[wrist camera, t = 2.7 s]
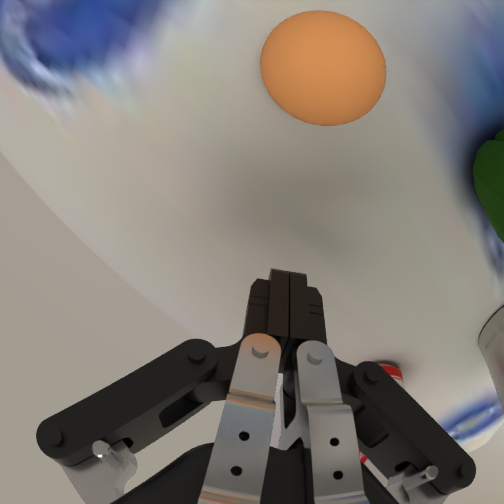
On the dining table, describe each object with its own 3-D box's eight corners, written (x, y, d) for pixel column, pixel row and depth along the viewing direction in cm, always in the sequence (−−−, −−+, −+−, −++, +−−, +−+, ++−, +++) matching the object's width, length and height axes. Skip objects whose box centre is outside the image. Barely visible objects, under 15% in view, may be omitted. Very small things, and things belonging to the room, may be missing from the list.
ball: (374, 38, 12) (415, 23, 7) (356, 127, 16) (388, 152, 11) (272, 15, 12) (265, -15, 7) (258, 107, 16) (244, 121, 11)
